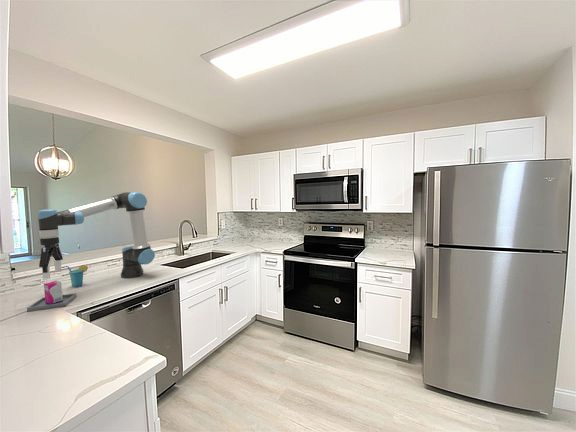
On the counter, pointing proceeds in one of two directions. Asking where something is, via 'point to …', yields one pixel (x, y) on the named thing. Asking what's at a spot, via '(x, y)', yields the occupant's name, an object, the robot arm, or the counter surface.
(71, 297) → the tray
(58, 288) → the supplement box
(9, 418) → the counter surface
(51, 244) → the robot arm
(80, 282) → the cup
